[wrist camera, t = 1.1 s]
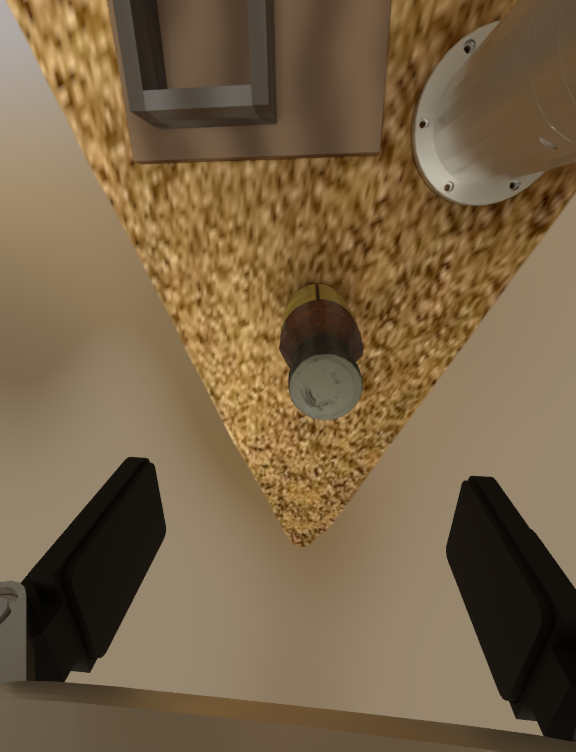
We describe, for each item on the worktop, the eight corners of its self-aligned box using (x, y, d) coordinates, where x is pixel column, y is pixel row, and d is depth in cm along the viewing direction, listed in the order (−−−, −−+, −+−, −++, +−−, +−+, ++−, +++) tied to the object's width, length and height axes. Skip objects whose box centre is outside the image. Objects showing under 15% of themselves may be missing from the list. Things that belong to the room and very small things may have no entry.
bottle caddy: (396, -108, 24) (420, -217, 18) (377, 155, 31) (390, 137, 25) (103, -78, 26) (40, -168, 20) (141, 164, 33) (101, 149, 27)
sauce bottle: (288, 338, 38) (257, 437, 20) (287, 280, 36) (253, 332, 17) (347, 339, 38) (372, 442, 19) (351, 280, 35) (384, 336, 17)
